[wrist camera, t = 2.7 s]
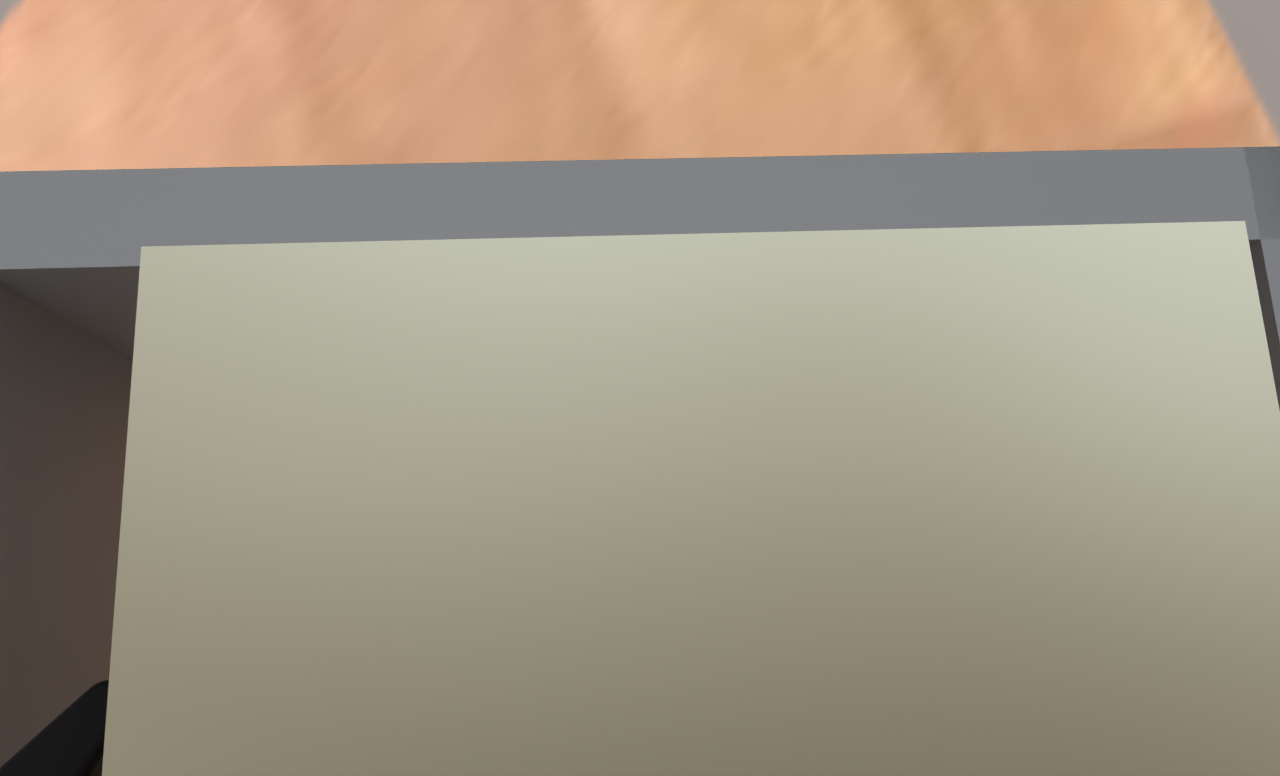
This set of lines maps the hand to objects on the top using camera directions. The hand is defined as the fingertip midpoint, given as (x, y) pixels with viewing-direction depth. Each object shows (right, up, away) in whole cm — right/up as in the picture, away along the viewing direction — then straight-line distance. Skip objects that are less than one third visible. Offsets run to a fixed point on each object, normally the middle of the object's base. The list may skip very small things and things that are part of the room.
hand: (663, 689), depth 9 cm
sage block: (0, -2, +8) cm, 8 cm away
